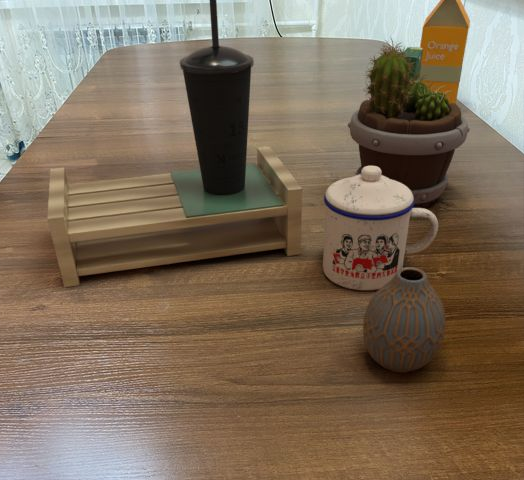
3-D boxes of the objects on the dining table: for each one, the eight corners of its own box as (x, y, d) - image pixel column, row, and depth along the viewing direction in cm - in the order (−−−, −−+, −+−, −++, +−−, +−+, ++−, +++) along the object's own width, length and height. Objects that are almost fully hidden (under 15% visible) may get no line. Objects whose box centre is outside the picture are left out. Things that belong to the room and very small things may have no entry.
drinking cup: (177, 191, 70) (155, -9, 58) (218, 170, 75) (206, -19, 63) (230, 206, 66) (219, -4, 54) (269, 183, 71) (267, -15, 59)
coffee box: (397, 127, 106) (406, 45, 98) (413, 128, 105) (424, 45, 97) (388, 142, 100) (398, 55, 92) (406, 144, 99) (417, 56, 91)
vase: (362, 332, 58) (371, 250, 53) (437, 340, 57) (453, 257, 51) (356, 378, 53) (365, 292, 47) (438, 388, 51) (457, 300, 46)
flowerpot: (424, 170, 90) (447, 19, 78) (475, 213, 78) (511, 42, 66) (330, 180, 88) (339, 25, 76) (367, 226, 76) (384, 51, 64)
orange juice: (410, 114, 112) (426, -11, 100) (414, 101, 118) (429, -18, 106) (454, 117, 110) (476, -10, 98) (455, 104, 117) (476, -17, 105)
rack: (64, 230, 76) (50, 168, 71) (269, 205, 81) (269, 146, 76) (64, 287, 65) (47, 218, 60) (300, 254, 70) (302, 188, 65)
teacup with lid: (322, 293, 64) (327, 186, 56) (318, 251, 71) (323, 152, 64) (438, 293, 63) (458, 186, 56) (422, 251, 70) (438, 151, 63)
